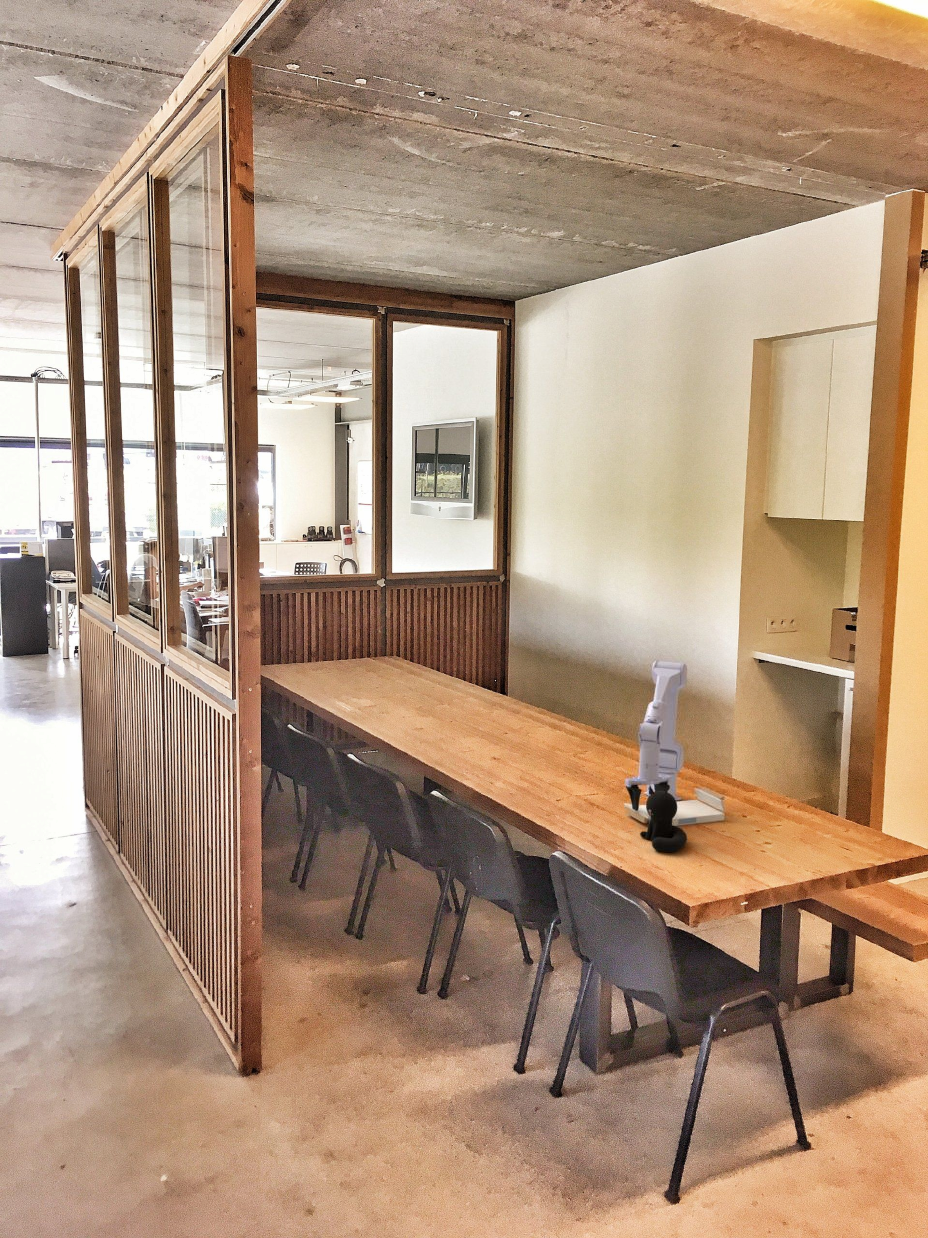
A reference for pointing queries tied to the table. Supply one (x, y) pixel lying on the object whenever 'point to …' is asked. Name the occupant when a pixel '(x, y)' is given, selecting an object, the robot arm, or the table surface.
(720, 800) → the far flap
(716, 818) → the carton
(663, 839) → the figurine
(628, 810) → the near flap
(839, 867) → the table surface
